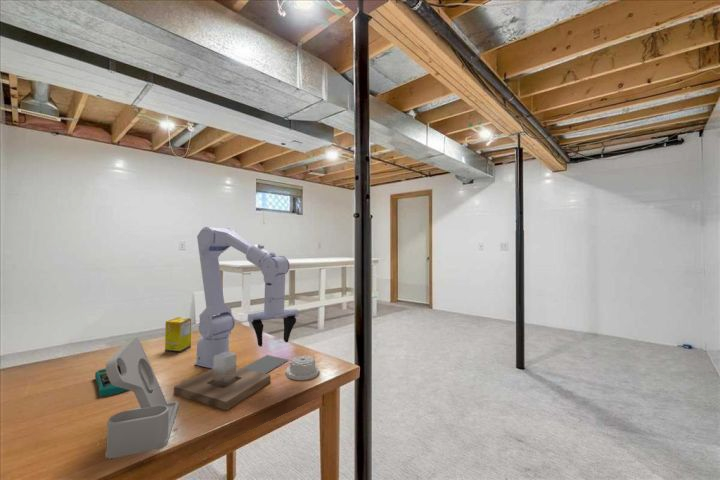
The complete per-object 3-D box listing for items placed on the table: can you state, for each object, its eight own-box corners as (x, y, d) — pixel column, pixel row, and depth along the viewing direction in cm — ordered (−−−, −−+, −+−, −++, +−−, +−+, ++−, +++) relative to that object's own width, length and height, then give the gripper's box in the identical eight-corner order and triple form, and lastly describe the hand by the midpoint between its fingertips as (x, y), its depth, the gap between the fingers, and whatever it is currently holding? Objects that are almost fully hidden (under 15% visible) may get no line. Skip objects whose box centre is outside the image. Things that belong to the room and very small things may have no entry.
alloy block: (212, 389, 82) (213, 356, 82) (224, 383, 86) (225, 351, 86) (224, 392, 80) (224, 358, 80) (235, 386, 84) (236, 353, 84)
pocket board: (173, 394, 79) (173, 386, 79) (222, 370, 94) (223, 363, 94) (226, 410, 72) (226, 401, 72) (270, 381, 87) (270, 374, 87)
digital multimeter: (99, 400, 76) (99, 388, 76) (94, 379, 87) (95, 369, 87) (135, 390, 81) (136, 379, 81) (126, 372, 92) (127, 362, 92)
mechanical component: (279, 379, 89) (312, 383, 87) (280, 364, 89) (312, 367, 87) (293, 365, 99) (323, 368, 97) (294, 351, 99) (323, 355, 97)
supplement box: (176, 346, 113) (177, 317, 113) (191, 347, 113) (192, 317, 113) (164, 352, 107) (164, 321, 107) (179, 353, 107) (180, 322, 107)
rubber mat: (236, 371, 93) (236, 370, 93) (267, 356, 106) (267, 355, 106) (260, 377, 89) (260, 376, 89) (288, 360, 102) (288, 359, 102)
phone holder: (166, 448, 59) (168, 355, 59) (100, 462, 55) (102, 362, 55) (179, 403, 75) (181, 330, 75) (129, 411, 71) (131, 334, 71)
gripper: (252, 302, 82) (250, 352, 83) (302, 297, 90) (301, 343, 90) (246, 297, 88) (245, 344, 88) (294, 293, 96) (293, 336, 96)
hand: (273, 343), depth 90 cm, fingers open, 7 cm apart
